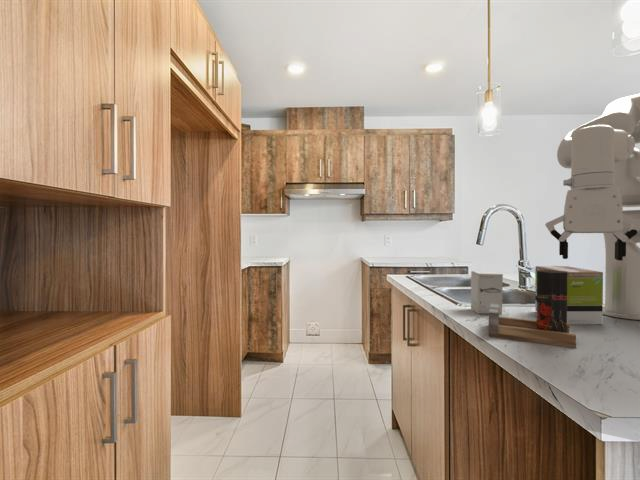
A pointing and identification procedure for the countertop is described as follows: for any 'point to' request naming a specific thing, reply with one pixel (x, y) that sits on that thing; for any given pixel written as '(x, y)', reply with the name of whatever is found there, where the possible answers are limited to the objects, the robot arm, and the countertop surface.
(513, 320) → the channel
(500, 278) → the supplement box
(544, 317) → the black package box
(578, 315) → the tea box
